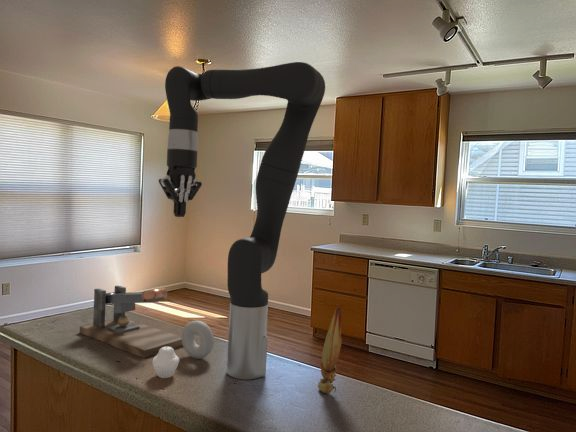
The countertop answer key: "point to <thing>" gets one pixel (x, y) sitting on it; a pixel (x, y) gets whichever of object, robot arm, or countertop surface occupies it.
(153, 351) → the cracker base
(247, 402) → the countertop surface
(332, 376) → the tan tall pointed piece
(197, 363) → the countertop surface
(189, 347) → the donut
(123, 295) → the lever
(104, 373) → the countertop surface
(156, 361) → the white rounded bulbous piece
